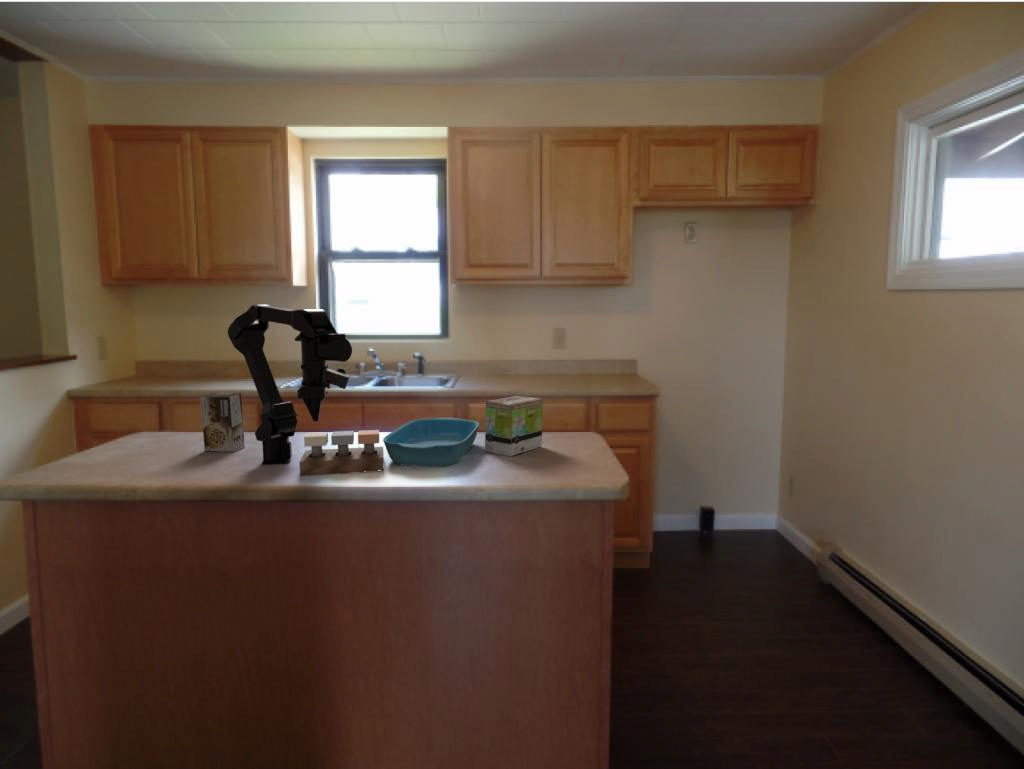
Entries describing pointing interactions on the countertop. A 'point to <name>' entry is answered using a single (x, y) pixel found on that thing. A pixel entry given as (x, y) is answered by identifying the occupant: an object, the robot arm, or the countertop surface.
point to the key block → (341, 462)
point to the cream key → (316, 442)
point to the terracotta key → (368, 440)
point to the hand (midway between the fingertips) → (316, 421)
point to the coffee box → (222, 422)
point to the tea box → (513, 425)
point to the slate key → (342, 441)
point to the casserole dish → (431, 441)
